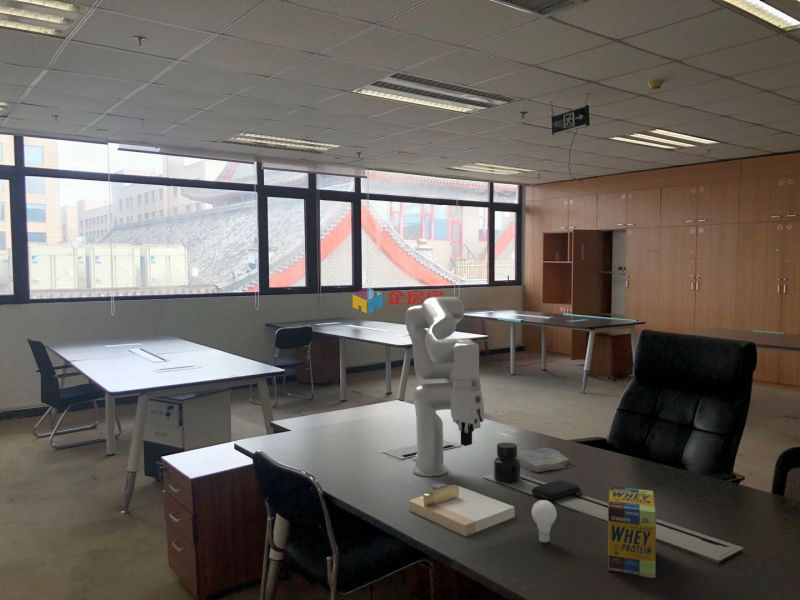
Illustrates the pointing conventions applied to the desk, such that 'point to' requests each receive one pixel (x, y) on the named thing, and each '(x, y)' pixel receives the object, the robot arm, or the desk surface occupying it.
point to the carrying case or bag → (556, 490)
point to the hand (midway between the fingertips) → (466, 444)
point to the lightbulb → (544, 518)
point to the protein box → (632, 531)
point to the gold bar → (440, 495)
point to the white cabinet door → (464, 511)
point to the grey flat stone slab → (542, 459)
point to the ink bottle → (507, 463)
